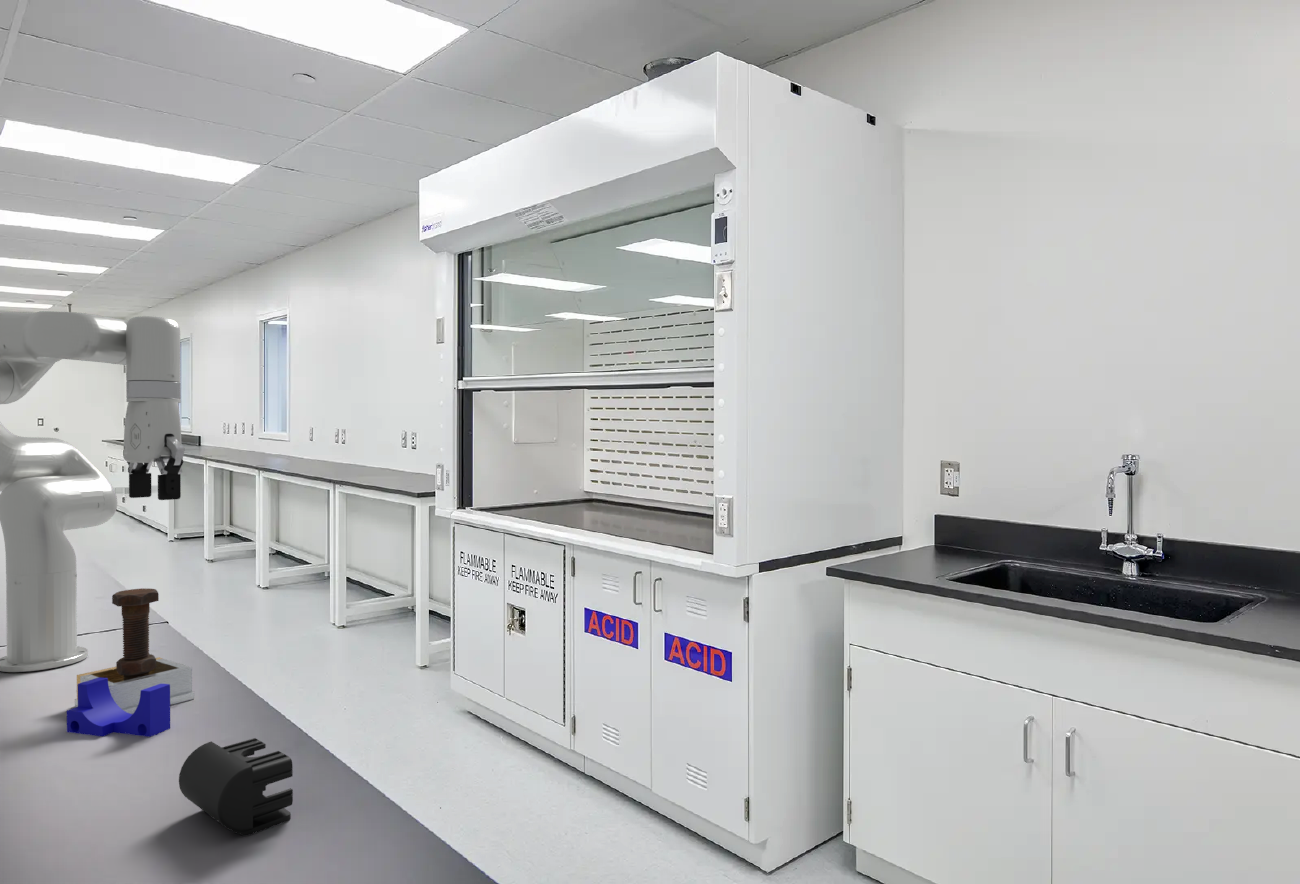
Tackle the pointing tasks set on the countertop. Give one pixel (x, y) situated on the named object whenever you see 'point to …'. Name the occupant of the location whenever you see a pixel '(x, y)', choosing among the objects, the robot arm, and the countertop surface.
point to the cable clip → (118, 711)
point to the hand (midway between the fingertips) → (154, 498)
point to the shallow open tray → (145, 683)
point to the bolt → (135, 632)
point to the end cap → (238, 785)
